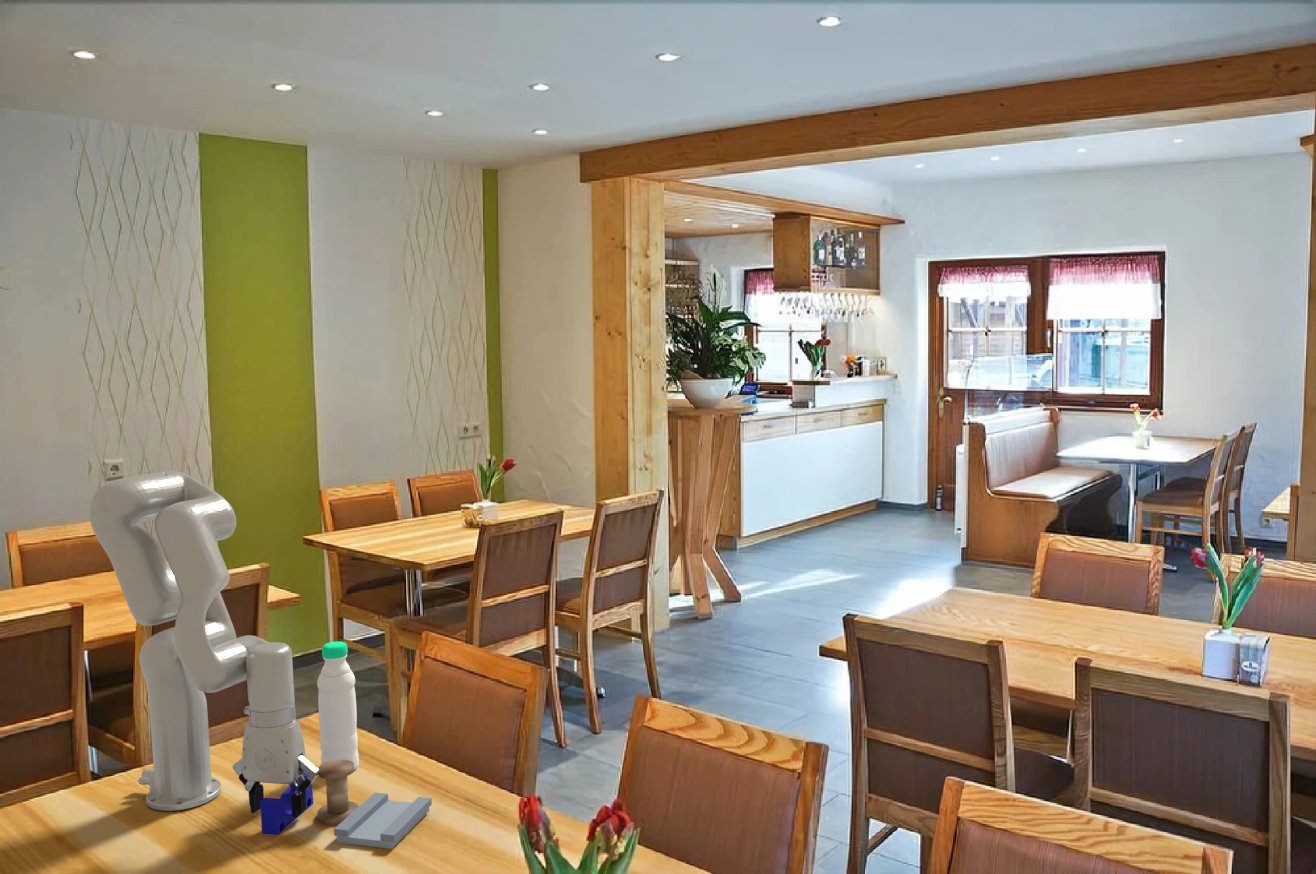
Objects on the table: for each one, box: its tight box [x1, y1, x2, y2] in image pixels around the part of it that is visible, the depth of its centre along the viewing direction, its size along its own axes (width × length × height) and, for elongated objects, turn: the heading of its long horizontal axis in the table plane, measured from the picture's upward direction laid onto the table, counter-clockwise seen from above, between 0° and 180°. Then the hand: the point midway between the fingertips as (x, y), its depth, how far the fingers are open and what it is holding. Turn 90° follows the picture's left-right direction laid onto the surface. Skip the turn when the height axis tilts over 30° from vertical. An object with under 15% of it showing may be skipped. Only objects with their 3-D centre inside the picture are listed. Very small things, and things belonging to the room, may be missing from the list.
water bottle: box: [316, 641, 360, 771], centre depth 205 cm, size 7×7×25 cm
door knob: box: [316, 759, 360, 826], centre depth 187 cm, size 7×7×9 cm
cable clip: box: [260, 772, 314, 836], centre depth 186 cm, size 12×4×6 cm, turn 170°
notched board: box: [333, 792, 433, 850], centre depth 183 cm, size 11×14×2 cm
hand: (278, 811), depth 186 cm, fingers open, 7 cm apart
